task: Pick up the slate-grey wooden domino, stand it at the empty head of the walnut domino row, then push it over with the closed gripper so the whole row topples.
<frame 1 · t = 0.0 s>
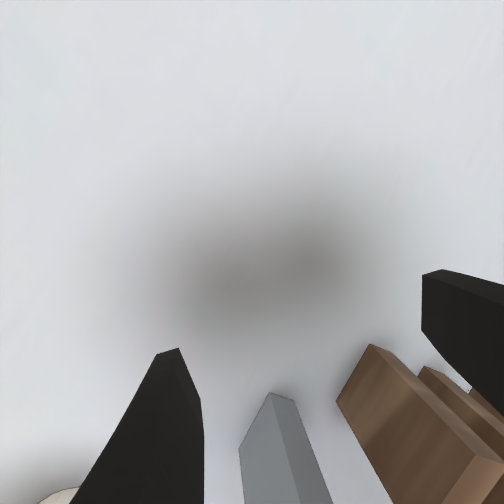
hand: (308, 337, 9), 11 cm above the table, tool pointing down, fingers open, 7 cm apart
domino 4: (465, 415, 25), on the table
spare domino: (266, 424, 22), on the table
domino 2: (363, 377, 23), on the table
domino 3: (417, 397, 24), on the table
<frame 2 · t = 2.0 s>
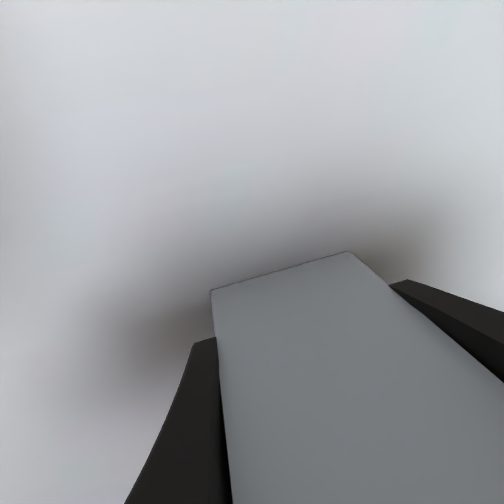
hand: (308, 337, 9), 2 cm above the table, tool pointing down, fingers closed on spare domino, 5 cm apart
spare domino: (285, 294, 11), on the table, touching gripper
when the fingers open (3 cm above the table, at t = 6.0 s): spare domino stays where it is, on the table.
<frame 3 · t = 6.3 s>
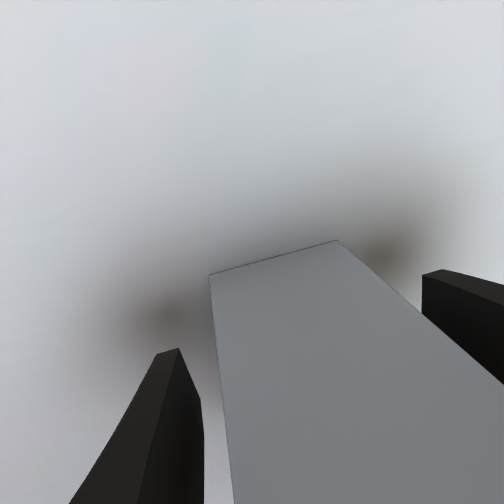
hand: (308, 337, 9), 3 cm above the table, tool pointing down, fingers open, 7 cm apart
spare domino: (278, 279, 12), on the table
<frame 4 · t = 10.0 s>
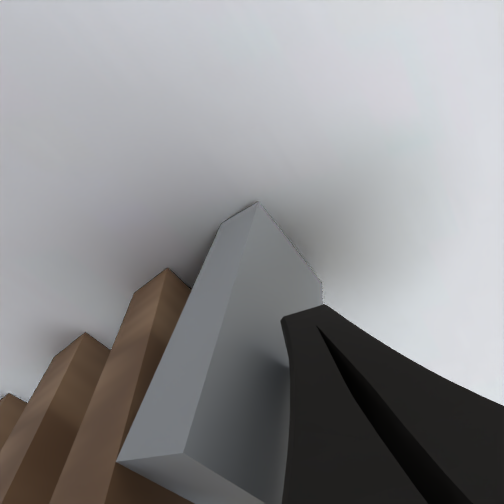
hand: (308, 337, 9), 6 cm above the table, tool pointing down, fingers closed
domino 4: (40, 428, 16), on the table
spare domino: (273, 254, 14), on the table, tilted 24°
domino 2: (189, 315, 15), on the table
domino 3: (111, 373, 15), on the table
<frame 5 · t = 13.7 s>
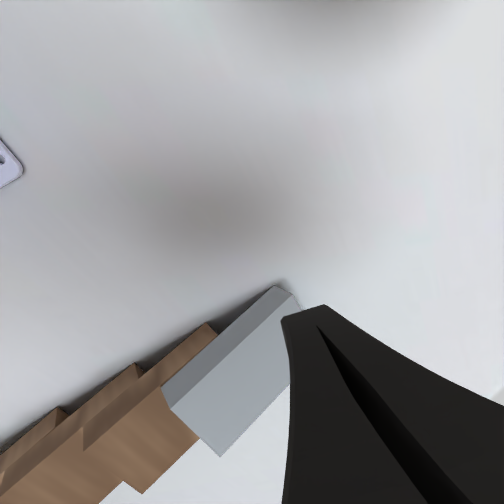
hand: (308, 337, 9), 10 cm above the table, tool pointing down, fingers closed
domino 4: (84, 435, 21), point 1 cm above the table, tilted 70°
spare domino: (298, 317, 21), point 1 cm above the table, tilted 67°, touching domino 2
domino 2: (230, 353, 21), point 1 cm above the table, tilted 69°, touching domino 3, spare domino
domino 3: (159, 392, 21), point 1 cm above the table, tilted 70°, touching domino 2
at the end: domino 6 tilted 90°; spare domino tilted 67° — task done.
